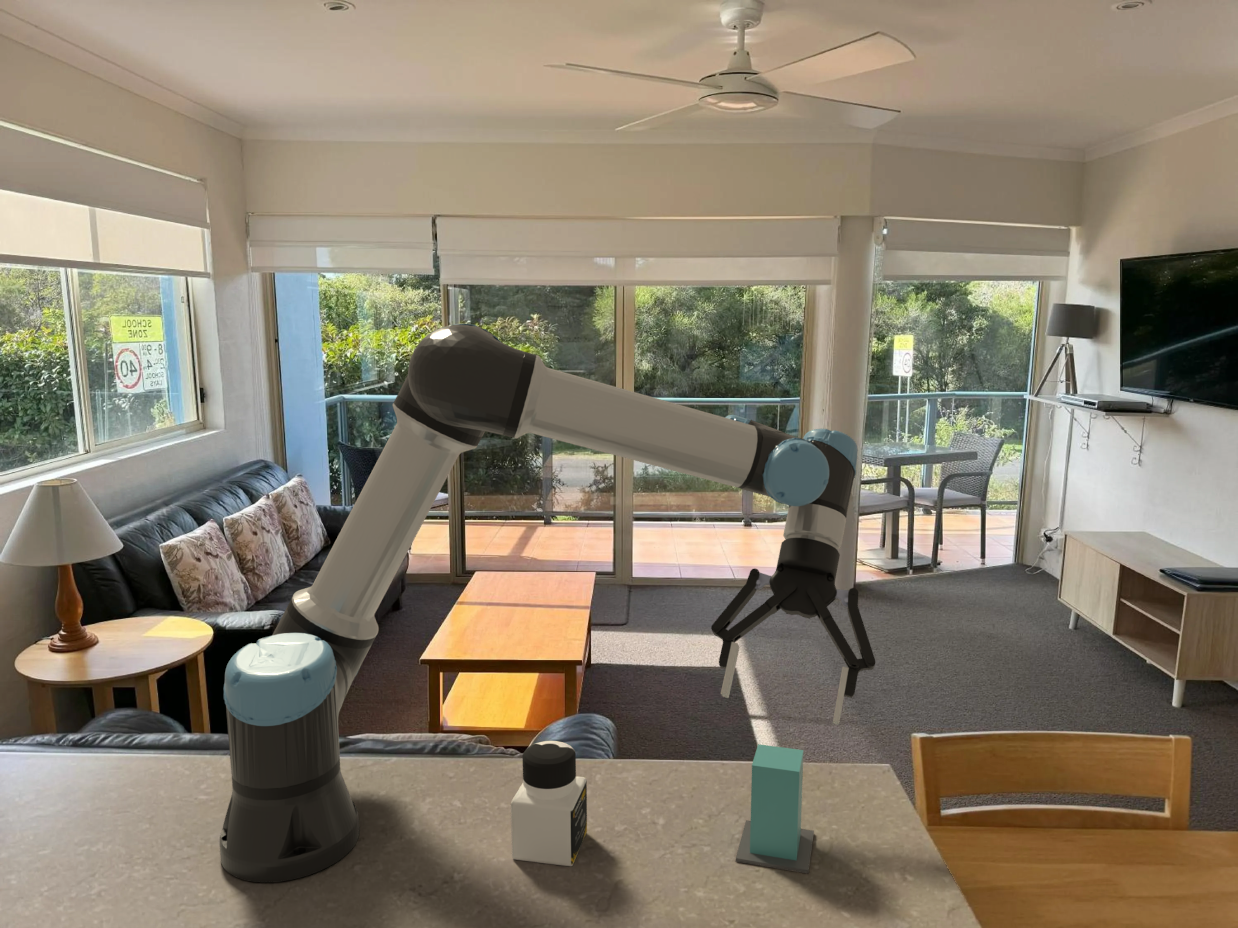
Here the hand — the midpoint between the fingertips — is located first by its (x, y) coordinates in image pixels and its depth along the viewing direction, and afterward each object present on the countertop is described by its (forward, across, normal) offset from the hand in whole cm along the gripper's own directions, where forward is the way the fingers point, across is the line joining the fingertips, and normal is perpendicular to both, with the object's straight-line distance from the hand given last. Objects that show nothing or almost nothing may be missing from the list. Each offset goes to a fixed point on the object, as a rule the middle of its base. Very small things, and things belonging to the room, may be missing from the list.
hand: (779, 709), depth 108 cm
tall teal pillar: (+15, -2, 0) cm, 15 cm away
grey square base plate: (+15, -3, 0) cm, 15 cm away
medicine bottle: (+22, +22, +5) cm, 31 cm away
